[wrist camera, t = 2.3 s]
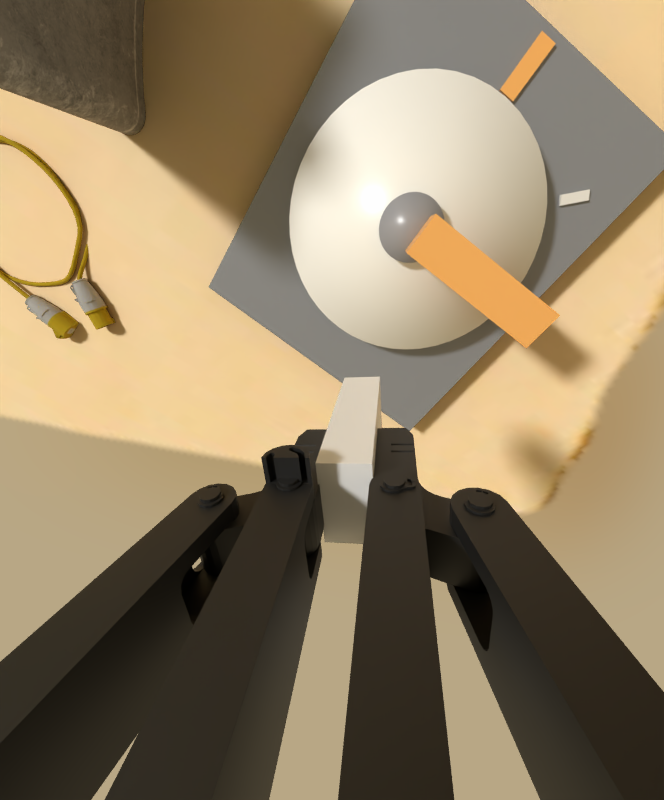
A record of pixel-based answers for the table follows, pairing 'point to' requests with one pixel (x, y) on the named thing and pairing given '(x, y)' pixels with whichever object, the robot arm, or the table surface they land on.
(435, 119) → the dial
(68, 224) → the table surface
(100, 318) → the extension cord
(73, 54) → the flask
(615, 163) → the dial housing
